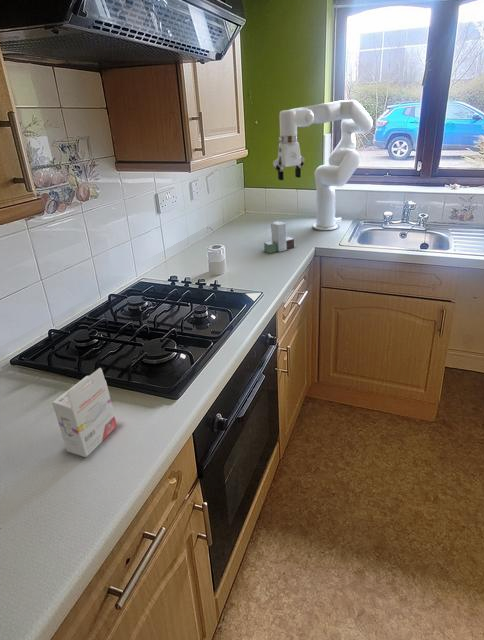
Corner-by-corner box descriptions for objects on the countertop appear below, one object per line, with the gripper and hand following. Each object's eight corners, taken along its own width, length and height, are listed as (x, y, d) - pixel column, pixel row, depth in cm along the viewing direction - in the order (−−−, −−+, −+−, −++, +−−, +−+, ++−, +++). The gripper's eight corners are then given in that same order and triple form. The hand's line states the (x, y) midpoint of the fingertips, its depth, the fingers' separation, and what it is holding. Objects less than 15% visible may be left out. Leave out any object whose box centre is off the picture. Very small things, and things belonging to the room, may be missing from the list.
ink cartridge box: (98, 421, 84) (84, 361, 78) (117, 427, 82) (104, 366, 77) (65, 451, 77) (46, 388, 71) (85, 459, 75) (68, 394, 69)
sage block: (271, 249, 182) (271, 240, 180) (276, 251, 179) (276, 243, 177) (264, 251, 180) (264, 242, 178) (269, 253, 177) (269, 244, 175)
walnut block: (289, 245, 186) (289, 236, 185) (294, 247, 183) (294, 238, 182) (282, 246, 184) (281, 238, 183) (287, 249, 181) (286, 240, 180)
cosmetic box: (287, 250, 180) (286, 223, 175) (278, 252, 178) (277, 225, 173) (279, 246, 185) (279, 220, 180) (271, 248, 183) (270, 222, 178)
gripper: (277, 141, 174) (278, 182, 180) (309, 138, 182) (309, 177, 189) (267, 141, 180) (269, 180, 186) (299, 137, 188) (299, 175, 195)
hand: (289, 178), depth 188 cm, fingers open, 9 cm apart
